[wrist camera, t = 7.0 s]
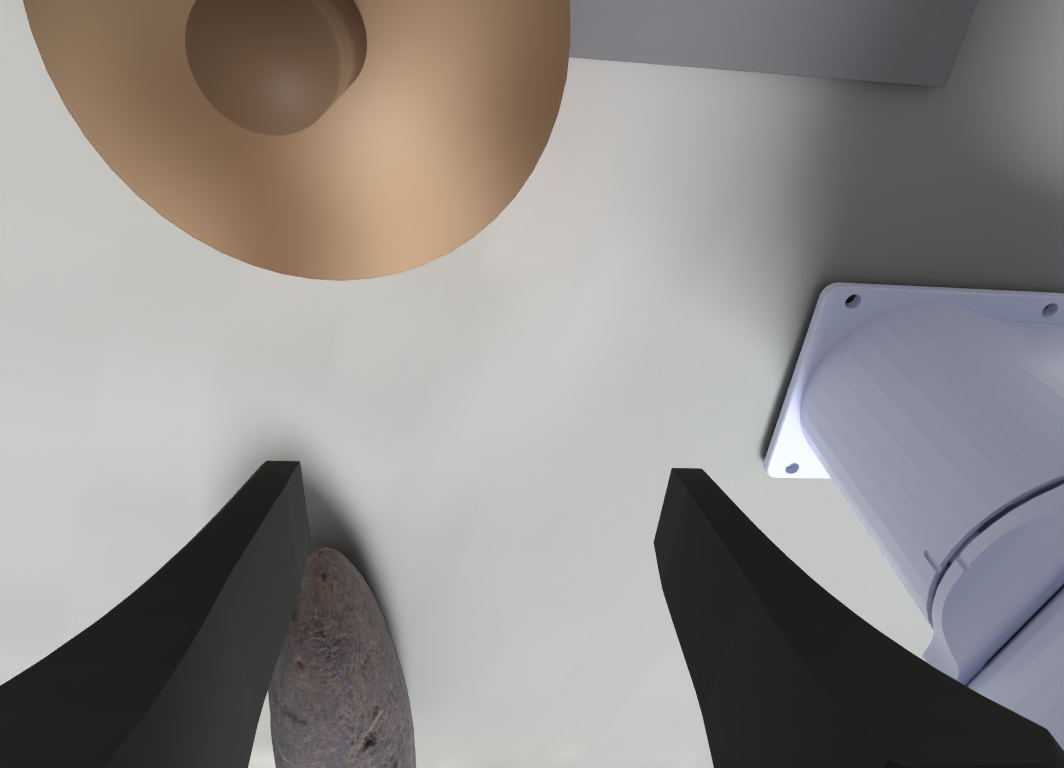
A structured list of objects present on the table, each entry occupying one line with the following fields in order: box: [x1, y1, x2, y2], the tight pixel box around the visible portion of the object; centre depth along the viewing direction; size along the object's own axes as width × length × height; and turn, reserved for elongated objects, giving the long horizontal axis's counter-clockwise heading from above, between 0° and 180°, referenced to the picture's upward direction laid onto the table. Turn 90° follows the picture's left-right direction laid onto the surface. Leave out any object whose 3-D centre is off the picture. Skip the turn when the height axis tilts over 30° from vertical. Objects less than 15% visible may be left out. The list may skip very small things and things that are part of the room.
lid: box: [23, 0, 570, 281], centre depth 13 cm, size 11×11×4 cm
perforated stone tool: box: [268, 546, 416, 768], centre depth 27 cm, size 15×5×7 cm, turn 178°
